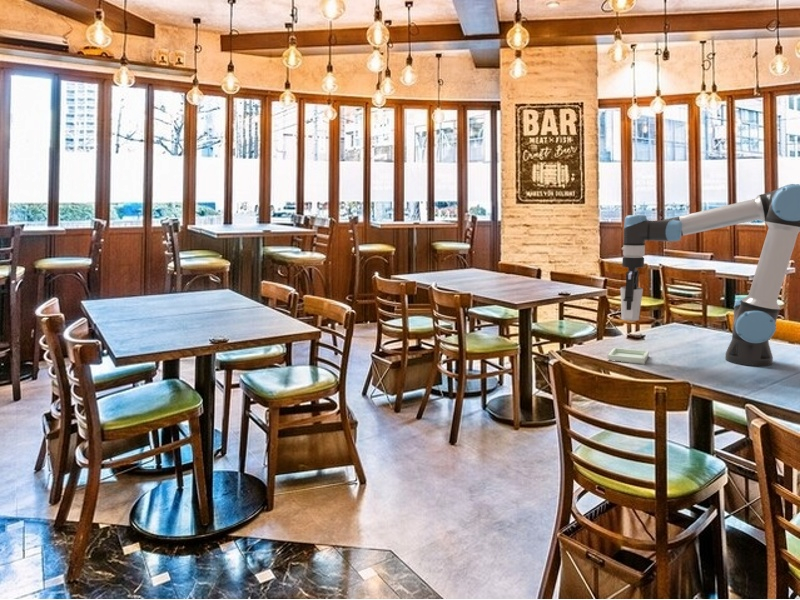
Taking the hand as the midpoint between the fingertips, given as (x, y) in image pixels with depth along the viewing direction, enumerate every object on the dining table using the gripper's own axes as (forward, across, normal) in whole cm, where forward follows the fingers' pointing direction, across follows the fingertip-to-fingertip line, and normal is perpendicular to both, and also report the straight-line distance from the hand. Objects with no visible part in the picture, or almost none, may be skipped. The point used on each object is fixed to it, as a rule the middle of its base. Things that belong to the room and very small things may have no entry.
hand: (630, 316), depth 219 cm
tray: (+16, 0, 0) cm, 16 cm away
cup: (+1, 0, 0) cm, 1 cm away
